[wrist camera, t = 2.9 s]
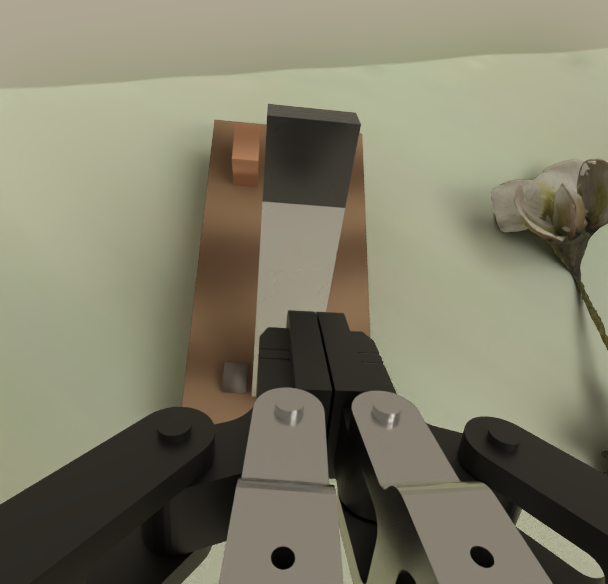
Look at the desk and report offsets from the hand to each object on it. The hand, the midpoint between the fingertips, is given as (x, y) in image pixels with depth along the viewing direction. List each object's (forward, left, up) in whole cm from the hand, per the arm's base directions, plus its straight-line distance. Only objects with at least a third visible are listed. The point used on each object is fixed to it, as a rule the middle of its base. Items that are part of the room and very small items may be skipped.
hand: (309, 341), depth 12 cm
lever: (+3, -4, -6) cm, 8 cm away
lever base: (+5, -7, -16) cm, 18 cm away
